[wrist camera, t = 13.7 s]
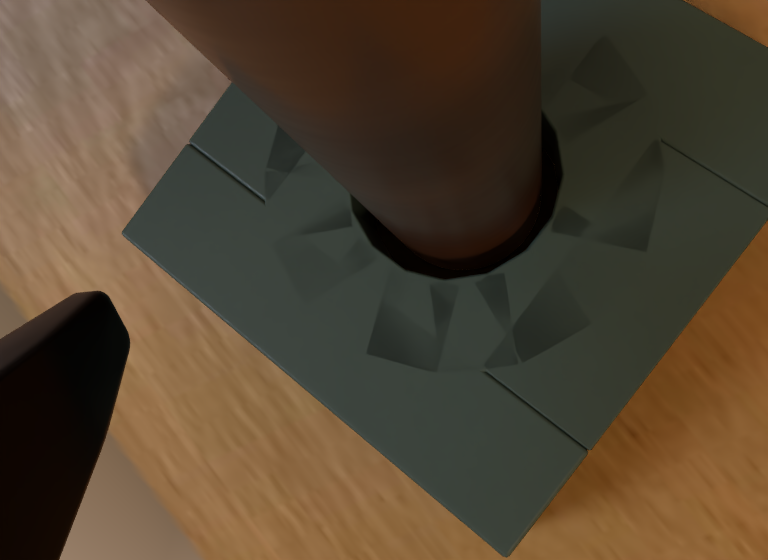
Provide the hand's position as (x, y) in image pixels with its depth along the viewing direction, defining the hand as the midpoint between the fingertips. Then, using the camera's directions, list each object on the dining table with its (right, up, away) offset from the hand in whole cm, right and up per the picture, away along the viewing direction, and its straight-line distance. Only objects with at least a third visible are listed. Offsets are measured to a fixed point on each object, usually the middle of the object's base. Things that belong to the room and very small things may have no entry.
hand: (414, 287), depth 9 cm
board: (+2, +2, +9) cm, 9 cm away
